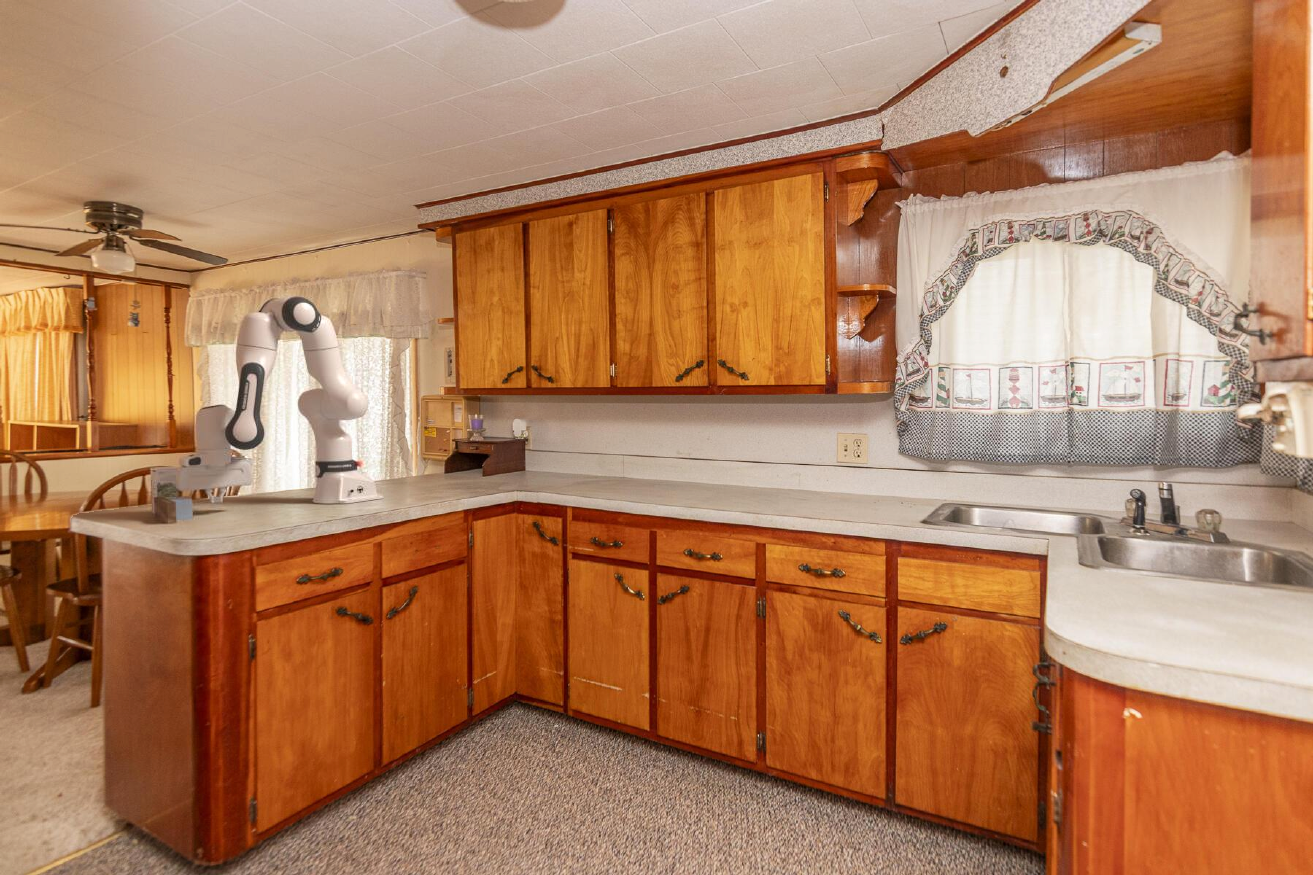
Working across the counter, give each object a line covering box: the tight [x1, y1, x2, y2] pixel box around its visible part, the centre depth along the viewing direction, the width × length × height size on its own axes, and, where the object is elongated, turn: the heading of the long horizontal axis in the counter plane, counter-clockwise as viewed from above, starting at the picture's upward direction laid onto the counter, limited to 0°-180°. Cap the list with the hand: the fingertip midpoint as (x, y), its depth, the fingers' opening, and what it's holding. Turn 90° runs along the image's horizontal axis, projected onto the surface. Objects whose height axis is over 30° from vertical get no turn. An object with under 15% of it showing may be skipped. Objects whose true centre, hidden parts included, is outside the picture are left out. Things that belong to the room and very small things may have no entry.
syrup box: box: [149, 465, 180, 515], centre depth 212 cm, size 6×6×14 cm
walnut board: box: [154, 497, 177, 525], centre depth 201 cm, size 2×16×6 cm, turn 47°
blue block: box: [167, 496, 194, 521], centre depth 203 cm, size 5×7×6 cm
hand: (216, 502), depth 211 cm, fingers closed
